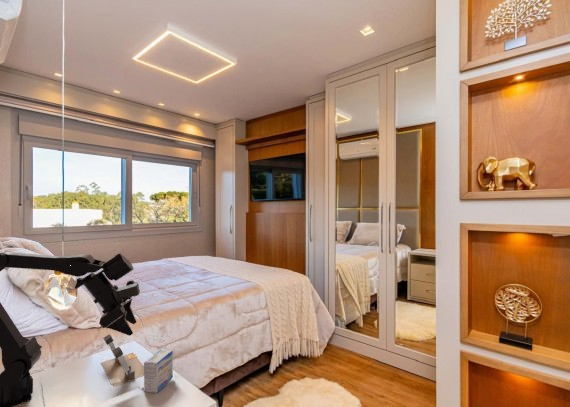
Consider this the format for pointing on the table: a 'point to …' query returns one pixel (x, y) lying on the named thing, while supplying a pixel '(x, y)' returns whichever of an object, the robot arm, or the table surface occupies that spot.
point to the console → (117, 372)
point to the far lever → (110, 343)
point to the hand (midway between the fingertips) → (133, 328)
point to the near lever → (121, 359)
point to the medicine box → (158, 371)
